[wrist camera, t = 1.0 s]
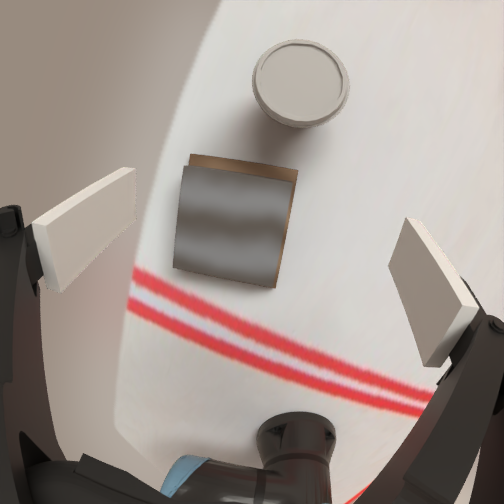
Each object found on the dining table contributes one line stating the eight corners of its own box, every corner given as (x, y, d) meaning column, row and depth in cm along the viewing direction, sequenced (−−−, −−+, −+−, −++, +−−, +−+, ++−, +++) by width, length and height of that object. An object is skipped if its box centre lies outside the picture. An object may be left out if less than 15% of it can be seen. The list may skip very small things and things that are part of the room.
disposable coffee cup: (274, 146, 39) (269, 139, 27) (251, 81, 36) (237, 50, 25) (343, 126, 37) (365, 112, 25) (319, 62, 35) (330, 26, 23)
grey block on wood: (275, 284, 44) (274, 299, 39) (180, 265, 45) (168, 277, 40) (297, 170, 39) (299, 171, 34) (193, 154, 40) (181, 153, 35)
